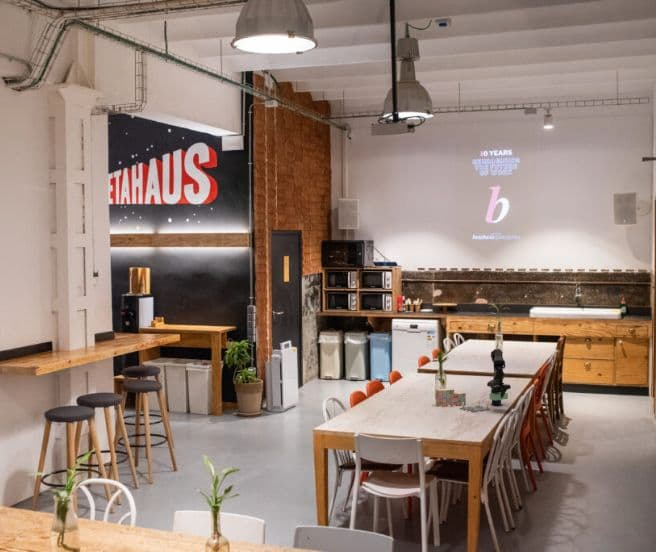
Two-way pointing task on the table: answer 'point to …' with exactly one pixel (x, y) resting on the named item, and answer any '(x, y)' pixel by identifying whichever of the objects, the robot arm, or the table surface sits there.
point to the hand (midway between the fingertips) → (498, 397)
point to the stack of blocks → (449, 397)
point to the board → (498, 396)
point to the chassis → (475, 407)
